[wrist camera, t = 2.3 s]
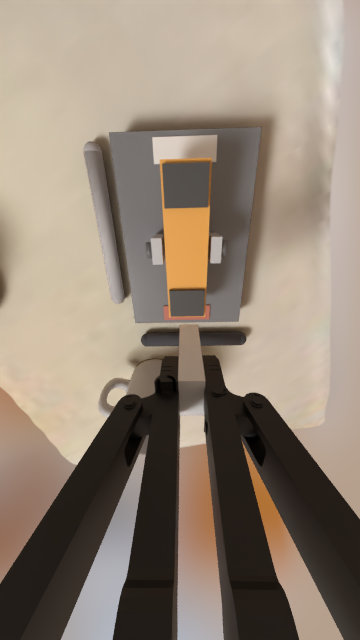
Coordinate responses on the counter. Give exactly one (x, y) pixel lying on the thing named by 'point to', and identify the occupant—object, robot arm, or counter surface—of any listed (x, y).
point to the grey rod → (104, 218)
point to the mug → (133, 388)
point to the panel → (224, 222)
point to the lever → (186, 232)
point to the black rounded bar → (205, 337)
